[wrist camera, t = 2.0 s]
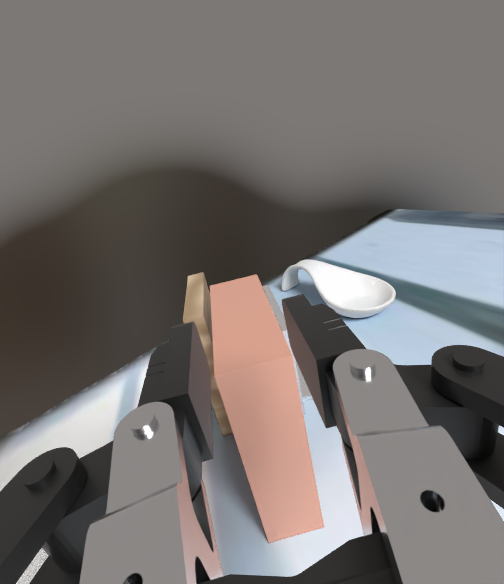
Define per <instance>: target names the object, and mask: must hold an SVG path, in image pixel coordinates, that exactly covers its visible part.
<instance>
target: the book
mask: <svg viewBox="0 0 504 584" xmlns="http://www.w3.org/2000/svg"><path fill="white" fill-rule="evenodd" d="M210 296H211V317H212V337H213V357H214V376H215V379H216V382H217V385H218V388H219V391H220V394H221V397H222V400H223V403H224V407H225V410H226V413H227V416H228V419H229V422H230V425H231V428H232V431H233V434H234V437H235V441H236V444H237V447H238V450H239V453H240V456H241V459H242V462H243V465H244V468H245V471H246V475H247V478H248V481H249V484H250V487H251V490H252V493H253V496H254V499H255V502H256V505H257V508H258V512H259V515H260V518H261V521H262V524H263V527H264V530H265V533H266V536H267V539H268V542H269V543H271V542H274V541H278V540H281V539H285V538H288V537H292V536H295V535H299V534H302V533H306V532H309V531H313V530H316V529H320V528H324V524H323V519H322V513H321V508H320V503H319V497H318V492H317V486H316V481H315V476H314V470H313V465H312V459H311V454H310V449H309V443H308V438H307V432H306V427H305V422H304V416H303V411H302V405H301V400H300V395H299V389H298V384H297V378H296V373H295V368H294V362H293V357H292V354H291V351H290V349H289V347H288V345H287V342H286V340H285V338H284V335H283V333H282V331H281V329H280V326H279V324H278V322H277V319H276V317H275V315H274V313H273V310H272V308H271V306H270V304H269V301H268V299H267V297H266V294H265V292H264V290H263V288H262V285H261V283H260V281H259V279H258V276H257V275H252V276H248V277H244V278H241V279H236V280H233V281H228V282H224V283H221V284H216V285H212V286H210Z"/></svg>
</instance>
